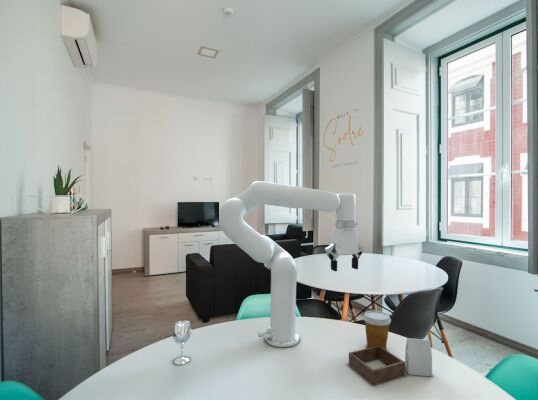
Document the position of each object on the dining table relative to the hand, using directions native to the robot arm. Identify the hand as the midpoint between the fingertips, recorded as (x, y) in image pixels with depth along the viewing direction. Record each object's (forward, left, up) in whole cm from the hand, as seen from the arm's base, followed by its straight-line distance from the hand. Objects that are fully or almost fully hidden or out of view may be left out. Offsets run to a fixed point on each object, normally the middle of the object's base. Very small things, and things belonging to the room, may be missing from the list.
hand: (344, 269), depth 114 cm
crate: (-3, -22, -26) cm, 34 cm away
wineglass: (-58, +7, -26) cm, 64 cm away
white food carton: (+8, -28, -26) cm, 39 cm away
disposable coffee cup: (+6, -11, -26) cm, 29 cm away
